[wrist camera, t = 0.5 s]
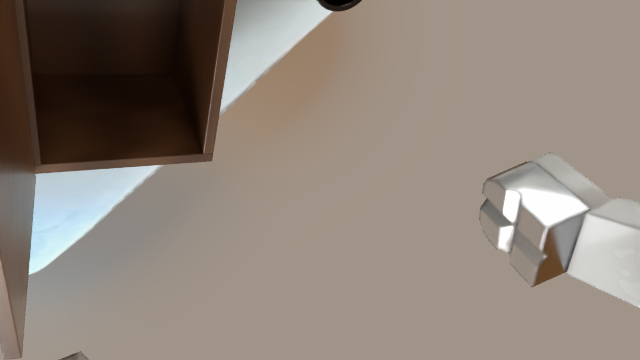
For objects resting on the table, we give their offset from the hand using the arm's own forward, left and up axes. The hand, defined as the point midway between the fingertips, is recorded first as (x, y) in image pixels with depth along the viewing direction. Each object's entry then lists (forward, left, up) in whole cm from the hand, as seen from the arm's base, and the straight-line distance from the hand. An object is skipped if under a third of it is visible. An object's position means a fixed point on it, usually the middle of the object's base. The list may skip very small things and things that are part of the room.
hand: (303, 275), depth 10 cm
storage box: (+11, +3, -37) cm, 39 cm away
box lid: (+12, -4, -18) cm, 22 cm away
